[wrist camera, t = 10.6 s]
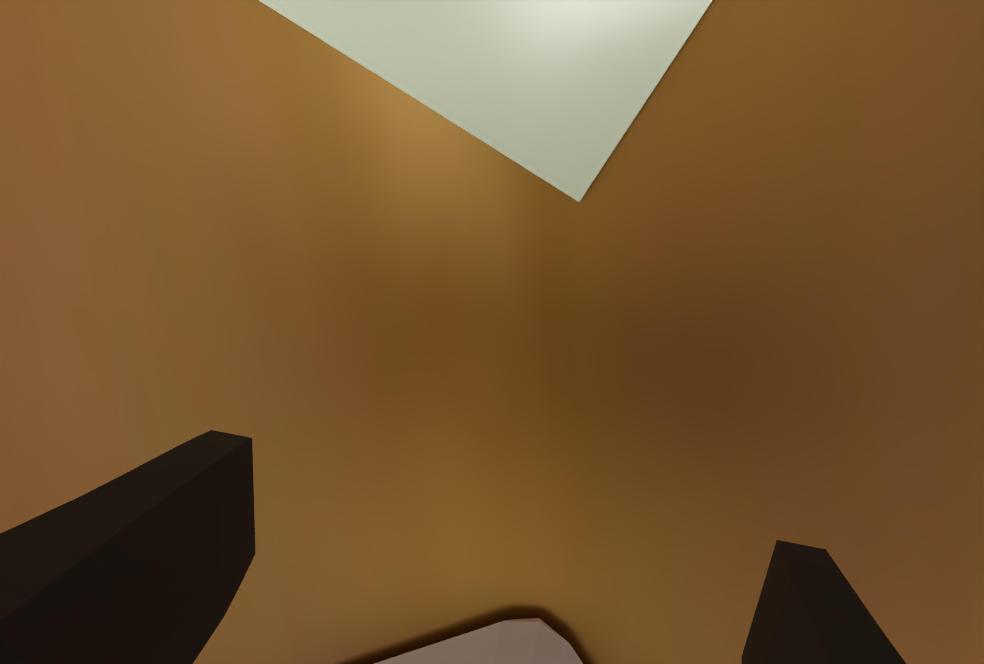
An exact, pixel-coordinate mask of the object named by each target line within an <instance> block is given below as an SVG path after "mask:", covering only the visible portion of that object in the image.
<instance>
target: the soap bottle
mask: <svg viewBox="0 0 984 664" xmlns="http://www.w3.org/2000/svg"><path fill="white" fill-rule="evenodd" d="M374 664H583V663H582V661H581V660H580V658H579V657H578V655H577V654H576V652H575V651H574V649H573V648H572V646H571V645H570V643H569V642H567V641H566V640H565V639H564V638H563V637H561V636H560V635H559V634H558V633H557V632H555V631H554V630H553V629H552V628H551V627H549V626H548V625H547V624H546V623H545V622H543V621H542V620H541V619H540V618H532V619H512V620H506V621H502V622H499V623H496V624H493V625H489V626H486V627H483V628H480V629H477V630H474V631H471V632H468V633H465V634H462V635H459V636H456V637H453V638H450V639H447V640H444V641H441V642H438V643H435V644H432V645H429V646H426V647H423V648H420V649H417V650H414V651H411V652H408V653H405V654H402V655H398V656H395V657H392V658H389V659H386V660H383V661H380V662H377V663H374Z"/></svg>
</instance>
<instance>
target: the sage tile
mask: <svg viewBox="0 0 984 664" xmlns="http://www.w3.org/2000/svg"><path fill="white" fill-rule="evenodd" d="M259 1H261V2H262V3H264V4H266V5H267V6H269V7H270V8H272V9H273V10H275V11H277V12H278V13H280V14H281V15H283V16H285V17H286V18H288V19H289V20H291V21H292V22H294V23H296V24H297V25H299V26H300V27H302V28H304V29H305V30H307V31H308V32H310V33H312V34H313V35H315V36H316V37H318V38H319V39H321V40H323V41H324V42H326V43H327V44H329V45H331V46H332V47H334V48H335V49H337V50H339V51H340V52H342V53H343V54H345V55H346V56H348V57H350V58H351V59H353V60H354V61H356V62H358V63H359V64H361V65H362V66H364V67H365V68H367V69H369V70H370V71H372V72H373V73H375V74H377V75H378V76H380V77H381V78H383V79H385V80H386V81H388V82H389V83H391V84H392V85H394V86H396V87H397V88H399V89H400V90H402V91H404V92H405V93H407V94H408V95H410V96H412V97H413V98H415V99H416V100H418V101H419V102H421V103H423V104H424V105H426V106H427V107H429V108H431V109H432V110H434V111H435V112H437V113H438V114H440V115H442V116H443V117H445V118H446V119H448V120H450V121H451V122H453V123H454V124H456V125H458V126H459V127H461V128H462V129H464V130H465V131H467V132H469V133H470V134H472V135H473V136H475V137H477V138H478V139H480V140H481V141H483V142H484V143H486V144H488V145H489V146H491V147H492V148H494V149H496V150H497V151H499V152H500V153H502V154H504V155H505V156H507V157H508V158H510V159H511V160H513V161H515V162H516V163H518V164H519V165H521V166H523V167H524V168H526V169H527V170H529V171H531V172H532V173H534V174H535V175H537V176H538V177H540V178H542V179H543V180H545V181H546V182H548V183H550V184H551V185H553V186H554V187H556V188H557V189H559V190H561V191H562V192H564V193H565V194H567V195H569V196H570V197H572V198H573V199H575V200H577V201H578V202H580V200H581V199H582V197H583V196H584V194H585V193H586V191H587V190H588V188H589V187H590V185H591V184H592V182H593V181H594V179H595V178H596V176H597V174H598V173H599V171H600V170H601V168H602V167H603V165H604V164H605V162H606V161H607V159H608V158H609V156H610V155H611V153H612V152H613V150H614V149H615V147H616V146H617V144H618V143H619V141H620V140H621V138H622V137H623V135H624V134H625V132H626V131H627V129H628V128H629V126H630V125H631V123H632V121H633V120H634V118H635V117H636V115H637V114H638V112H639V111H640V109H641V108H642V106H643V105H644V103H645V102H646V100H647V99H648V97H649V96H650V94H651V93H652V91H653V90H654V88H655V87H656V85H657V84H658V82H659V81H660V79H661V78H662V76H663V75H664V73H665V72H666V70H667V68H668V67H669V65H670V64H671V62H672V61H673V59H674V58H675V56H676V55H677V53H678V52H679V50H680V49H681V47H682V46H683V44H684V43H685V41H686V40H687V38H688V37H689V35H690V34H691V32H692V31H693V29H694V28H695V26H696V25H697V23H698V22H699V20H700V19H701V17H702V15H703V14H704V12H705V11H706V9H707V8H708V6H709V5H710V3H711V2H712V0H259Z"/></svg>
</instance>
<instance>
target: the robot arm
mask: <svg viewBox="0 0 984 664" xmlns="http://www.w3.org/2000/svg"><path fill="white" fill-rule="evenodd" d="M254 555H255V524H254V490H253V455H252V438H249V437H244V436H239V435H234V434H228V433H223V432H218V431H213V430H211V431H209V432H206V433H204V434H202V435H200V436H197V437H195V438H193V439H191V440H189V441H187V442H185V443H183V444H181V445H179V446H177V447H175V448H173V449H172V450H170V451H168V452H166V453H164V454H162V455H160V456H158V457H156V458H154V459H152V460H150V461H149V462H147V463H145V464H143V465H141V466H139V467H137V468H135V469H133V470H131V471H129V472H127V473H125V474H124V475H122V476H120V477H118V478H116V479H114V480H112V481H110V482H108V483H106V484H104V485H102V486H100V487H98V488H96V489H94V490H92V491H90V492H88V493H86V494H84V495H82V496H80V497H78V498H76V499H74V500H72V501H70V502H68V503H66V504H63V505H61V506H59V507H57V508H55V509H53V510H51V511H48V512H46V513H44V514H42V515H40V516H38V517H36V518H33V519H31V520H29V521H27V522H25V523H23V524H20V525H18V526H16V527H14V528H12V529H10V530H8V531H5V532H3V533H1V534H0V664H193V662H194V661H195V659H196V658H197V656H198V655H199V653H200V652H201V650H202V649H203V647H204V646H205V644H206V643H207V641H208V640H209V638H210V637H211V635H212V634H213V632H214V631H215V629H216V628H217V626H218V625H219V623H220V622H221V620H222V619H223V617H224V615H225V614H226V612H227V610H228V608H229V606H230V604H231V602H232V600H233V598H234V596H235V594H236V592H237V590H238V588H239V586H240V584H241V582H242V580H243V578H244V576H245V574H246V572H247V570H248V568H249V566H250V563H251V561H252V559H253V557H254ZM742 664H906V663H905V661H904V660H903V659H902V657H901V656H900V655H899V653H898V652H897V651H896V649H895V648H894V647H893V645H892V644H891V642H890V641H889V640H888V638H887V637H886V635H885V634H884V633H883V631H882V630H881V628H880V627H879V626H878V624H877V623H876V621H875V620H874V618H873V617H872V616H871V614H870V613H869V611H868V610H867V608H866V607H865V606H864V604H863V603H862V601H861V600H860V598H859V597H858V595H857V594H856V593H855V591H854V590H853V588H852V587H851V585H850V584H849V582H848V581H847V579H846V578H845V577H844V575H843V574H842V572H841V571H840V569H839V568H838V566H837V565H836V564H835V562H834V561H833V559H832V558H831V556H830V555H829V554H828V552H827V551H826V549H821V548H815V547H810V546H805V545H800V544H795V543H790V542H785V541H779V540H777V542H776V545H775V548H774V552H773V555H772V558H771V561H770V565H769V568H768V571H767V575H766V578H765V581H764V585H763V588H762V591H761V595H760V598H759V601H758V605H757V608H756V611H755V615H754V618H753V621H752V624H751V628H750V631H749V634H748V638H747V641H746V644H745V648H744V651H743V654H742Z"/></svg>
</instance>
